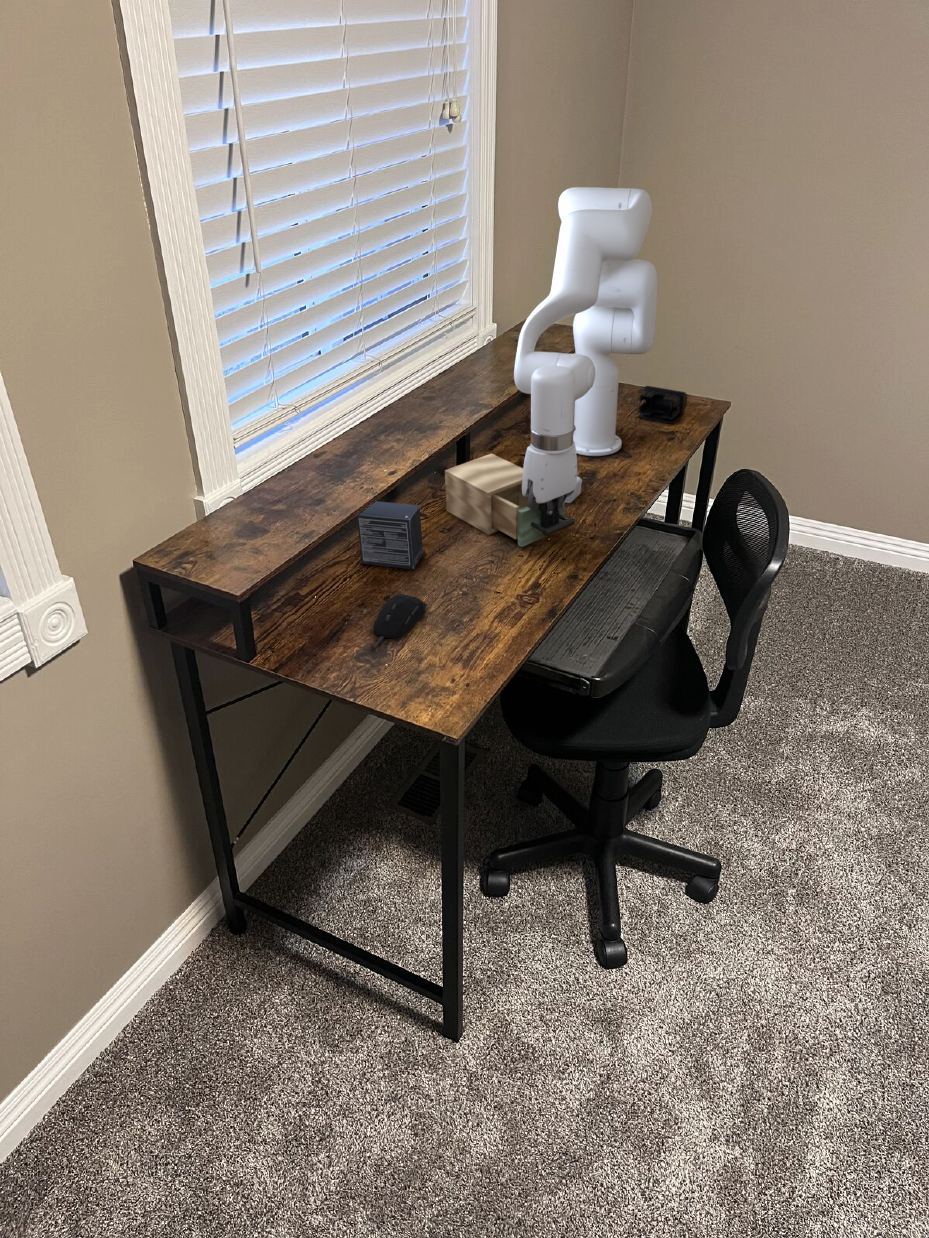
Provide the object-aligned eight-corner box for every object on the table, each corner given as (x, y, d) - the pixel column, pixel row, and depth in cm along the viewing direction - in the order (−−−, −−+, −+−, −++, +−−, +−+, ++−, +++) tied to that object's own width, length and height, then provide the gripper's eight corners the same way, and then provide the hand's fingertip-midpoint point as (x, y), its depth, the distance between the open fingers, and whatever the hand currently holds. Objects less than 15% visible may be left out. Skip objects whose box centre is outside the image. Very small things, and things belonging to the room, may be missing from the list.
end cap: (685, 415, 227) (688, 388, 223) (674, 425, 222) (677, 398, 219) (648, 408, 232) (650, 382, 228) (636, 417, 227) (638, 391, 223)
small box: (425, 553, 175) (421, 503, 169) (414, 570, 170) (410, 520, 164) (372, 547, 178) (367, 498, 172) (360, 564, 172) (354, 514, 167)
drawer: (581, 538, 176) (583, 503, 172) (539, 557, 171) (539, 522, 167) (521, 506, 188) (521, 474, 184) (480, 523, 182) (479, 490, 178)
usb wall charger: (554, 499, 192) (554, 482, 190) (568, 486, 197) (569, 469, 195) (571, 503, 190) (572, 485, 188) (586, 490, 195) (586, 472, 193)
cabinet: (535, 515, 186) (535, 474, 181) (488, 535, 180) (487, 492, 175) (492, 493, 195) (491, 453, 190) (446, 511, 189) (444, 470, 184)
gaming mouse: (356, 645, 151) (354, 624, 149) (399, 599, 162) (398, 580, 160) (390, 653, 149) (388, 633, 146) (432, 606, 160) (430, 587, 157)
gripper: (568, 421, 170) (565, 510, 180) (505, 443, 162) (506, 534, 173) (597, 432, 165) (592, 523, 175) (534, 456, 157) (533, 549, 168)
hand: (550, 529), depth 174 cm, fingers closed
